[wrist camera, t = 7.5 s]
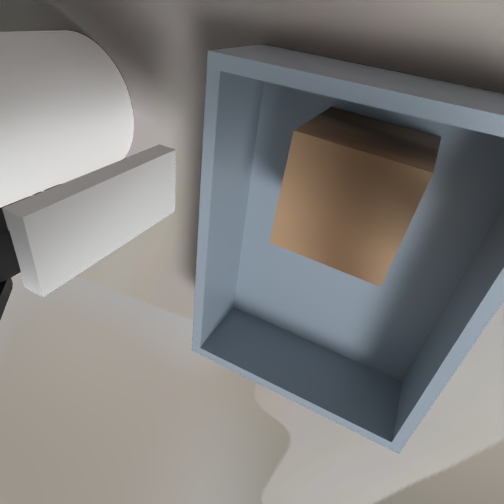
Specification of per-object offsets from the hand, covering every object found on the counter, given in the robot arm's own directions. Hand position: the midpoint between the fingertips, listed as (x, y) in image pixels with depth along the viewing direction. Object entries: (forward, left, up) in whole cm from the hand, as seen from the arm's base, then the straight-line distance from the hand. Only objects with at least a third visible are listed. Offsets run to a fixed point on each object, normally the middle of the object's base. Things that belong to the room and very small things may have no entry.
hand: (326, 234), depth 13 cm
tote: (+4, 0, -7) cm, 8 cm away
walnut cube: (0, 0, -7) cm, 7 cm away
